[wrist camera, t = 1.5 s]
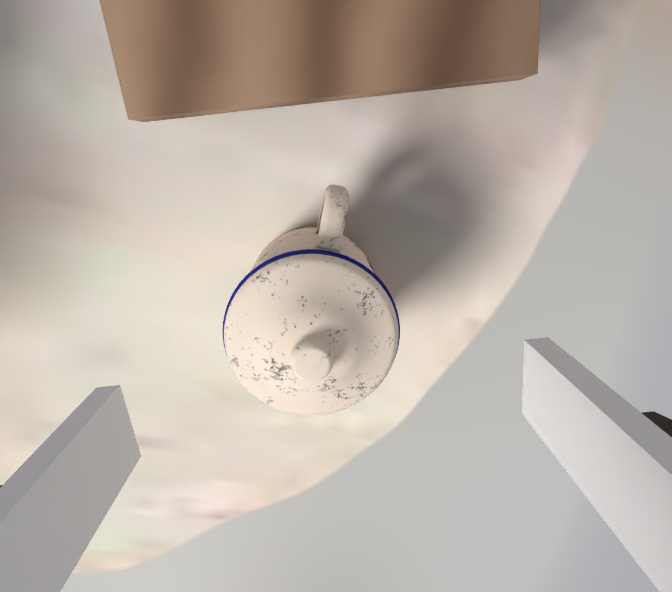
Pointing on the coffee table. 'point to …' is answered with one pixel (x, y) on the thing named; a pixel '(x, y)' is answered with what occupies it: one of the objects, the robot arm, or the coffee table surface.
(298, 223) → the coffee table surface
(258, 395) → the teacup with lid
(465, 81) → the walnut stand
